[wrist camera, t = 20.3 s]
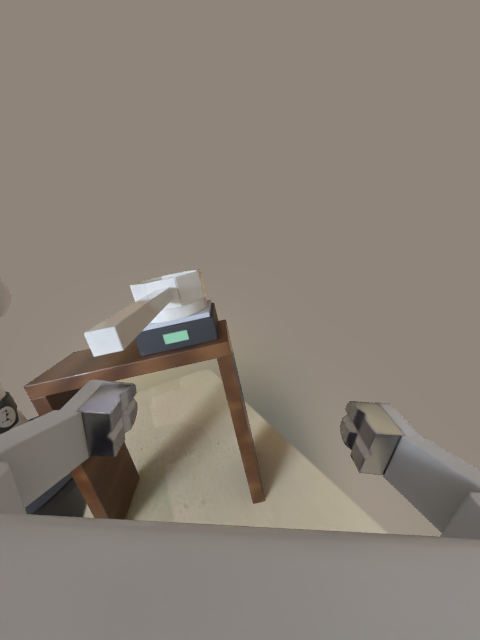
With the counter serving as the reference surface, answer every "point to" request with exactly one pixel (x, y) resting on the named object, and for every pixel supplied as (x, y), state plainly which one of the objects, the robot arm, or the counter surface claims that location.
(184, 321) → the kitchen scale
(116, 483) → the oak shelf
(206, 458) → the counter surface
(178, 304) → the scoop bowl
